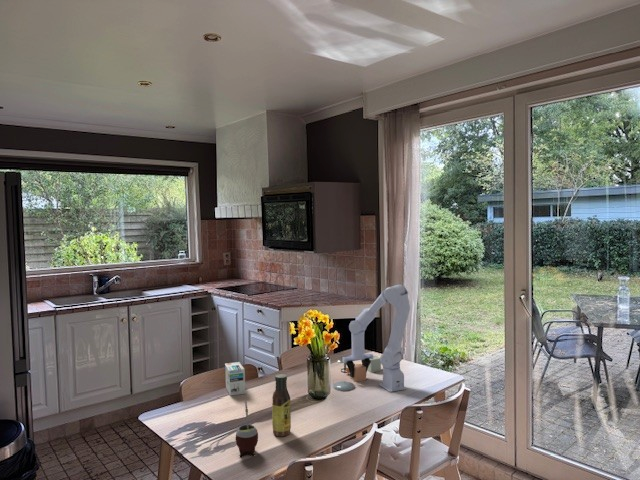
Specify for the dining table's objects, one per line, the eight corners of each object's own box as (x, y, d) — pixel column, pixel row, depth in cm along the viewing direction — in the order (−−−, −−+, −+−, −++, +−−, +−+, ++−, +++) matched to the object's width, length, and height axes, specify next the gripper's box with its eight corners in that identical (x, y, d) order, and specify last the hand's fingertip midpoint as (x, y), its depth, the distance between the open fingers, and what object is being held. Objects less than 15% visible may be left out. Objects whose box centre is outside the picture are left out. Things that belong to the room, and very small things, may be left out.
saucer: (357, 388, 199) (357, 387, 199) (338, 392, 195) (338, 390, 195) (348, 381, 207) (348, 380, 207) (330, 385, 204) (330, 383, 204)
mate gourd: (247, 461, 142) (245, 413, 141) (229, 453, 147) (228, 406, 146) (264, 451, 148) (263, 404, 147) (246, 443, 152) (245, 399, 152)
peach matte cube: (366, 380, 209) (365, 367, 209) (355, 381, 207) (355, 368, 207) (360, 376, 214) (360, 363, 213) (350, 378, 212) (350, 365, 212)
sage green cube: (380, 370, 221) (380, 358, 220) (371, 372, 219) (371, 359, 219) (375, 367, 226) (375, 355, 225) (366, 369, 224) (365, 356, 223)
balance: (354, 374, 216) (354, 362, 216) (347, 376, 214) (346, 364, 214) (343, 366, 228) (343, 355, 228) (335, 367, 226) (335, 356, 226)
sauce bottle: (288, 438, 156) (287, 380, 155) (270, 436, 157) (269, 378, 156) (293, 429, 162) (292, 373, 161) (275, 427, 164) (274, 372, 162)
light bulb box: (245, 393, 195) (245, 368, 195) (229, 396, 193) (229, 370, 192) (240, 385, 205) (239, 361, 205) (225, 387, 203) (224, 363, 202)
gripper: (368, 342, 216) (368, 371, 217) (339, 346, 211) (339, 375, 211) (375, 346, 209) (375, 375, 210) (346, 350, 204) (346, 380, 205)
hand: (358, 376), depth 210 cm, fingers open, 5 cm apart
